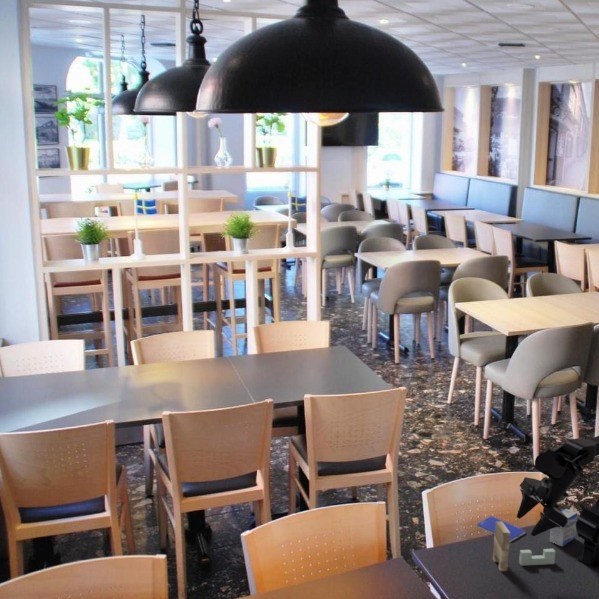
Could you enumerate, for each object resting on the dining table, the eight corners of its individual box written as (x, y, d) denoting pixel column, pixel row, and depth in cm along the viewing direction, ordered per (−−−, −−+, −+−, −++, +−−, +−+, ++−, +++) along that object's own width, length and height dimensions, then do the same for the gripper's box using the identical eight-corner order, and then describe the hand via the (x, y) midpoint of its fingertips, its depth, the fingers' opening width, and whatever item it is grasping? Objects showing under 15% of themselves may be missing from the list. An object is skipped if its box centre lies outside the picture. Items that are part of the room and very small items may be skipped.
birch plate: (499, 558, 232) (502, 521, 229) (507, 570, 225) (510, 532, 223) (492, 559, 231) (495, 521, 229) (500, 571, 225) (503, 532, 222)
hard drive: (476, 523, 250) (510, 539, 241) (491, 515, 255) (525, 530, 246) (476, 528, 250) (510, 543, 241) (491, 519, 256) (525, 534, 247)
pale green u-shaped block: (551, 561, 231) (553, 548, 230) (554, 564, 229) (555, 551, 228) (518, 562, 230) (519, 550, 229) (521, 565, 228) (522, 553, 227)
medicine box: (562, 547, 238) (564, 521, 237) (548, 541, 242) (551, 515, 240) (575, 538, 244) (578, 512, 242) (562, 533, 247) (564, 507, 245)
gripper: (523, 453, 225) (490, 496, 227) (553, 485, 207) (517, 531, 209) (551, 472, 228) (518, 514, 230) (583, 504, 210) (548, 549, 212)
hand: (524, 526), depth 221 cm, fingers open, 9 cm apart
